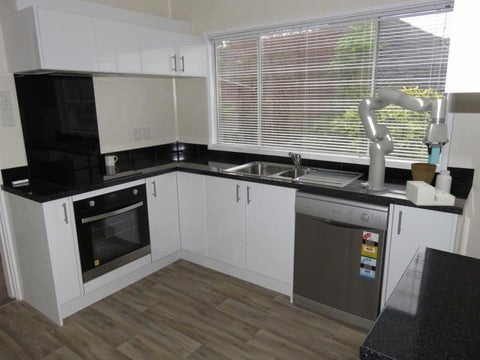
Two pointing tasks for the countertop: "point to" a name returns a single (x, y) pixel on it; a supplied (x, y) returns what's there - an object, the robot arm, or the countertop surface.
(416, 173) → the plant pot
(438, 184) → the pill bottle
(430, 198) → the console
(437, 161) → the light blue block
